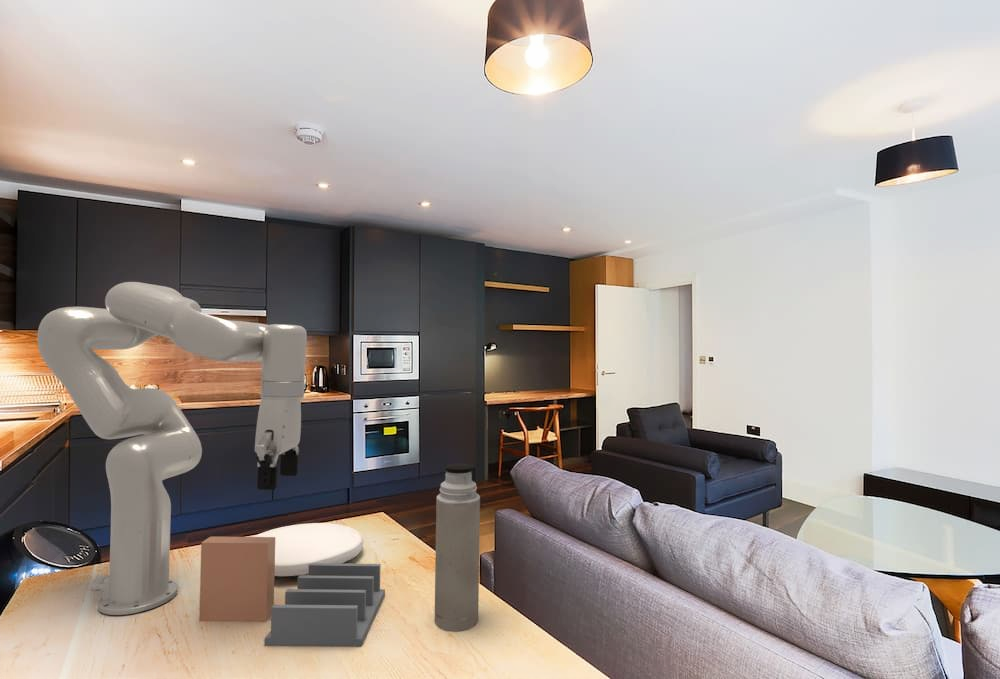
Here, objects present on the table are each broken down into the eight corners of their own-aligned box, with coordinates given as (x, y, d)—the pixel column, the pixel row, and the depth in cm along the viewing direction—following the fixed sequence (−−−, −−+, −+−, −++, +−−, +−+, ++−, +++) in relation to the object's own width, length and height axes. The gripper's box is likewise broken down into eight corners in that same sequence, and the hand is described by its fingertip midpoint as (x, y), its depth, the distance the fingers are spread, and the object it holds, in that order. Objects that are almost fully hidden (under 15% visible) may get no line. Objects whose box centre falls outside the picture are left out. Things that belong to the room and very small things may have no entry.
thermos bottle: (429, 612, 95) (432, 462, 95) (470, 605, 98) (472, 459, 98) (440, 635, 87) (443, 471, 88) (484, 626, 90) (486, 468, 91)
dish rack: (264, 645, 84) (265, 607, 84) (304, 594, 101) (305, 563, 101) (361, 646, 84) (362, 608, 84) (384, 595, 101) (385, 564, 101)
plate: (289, 515, 135) (382, 524, 130) (287, 540, 134) (380, 550, 129) (210, 542, 108) (324, 554, 102) (206, 574, 107) (321, 588, 102)
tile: (199, 621, 91) (201, 542, 91) (208, 612, 94) (210, 536, 94) (266, 622, 91) (268, 543, 91) (273, 613, 94) (275, 537, 94)
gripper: (281, 386, 103) (277, 470, 103) (239, 393, 86) (234, 494, 86) (318, 387, 104) (314, 471, 103) (284, 395, 86) (279, 496, 86)
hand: (278, 481), depth 95 cm, fingers open, 9 cm apart
